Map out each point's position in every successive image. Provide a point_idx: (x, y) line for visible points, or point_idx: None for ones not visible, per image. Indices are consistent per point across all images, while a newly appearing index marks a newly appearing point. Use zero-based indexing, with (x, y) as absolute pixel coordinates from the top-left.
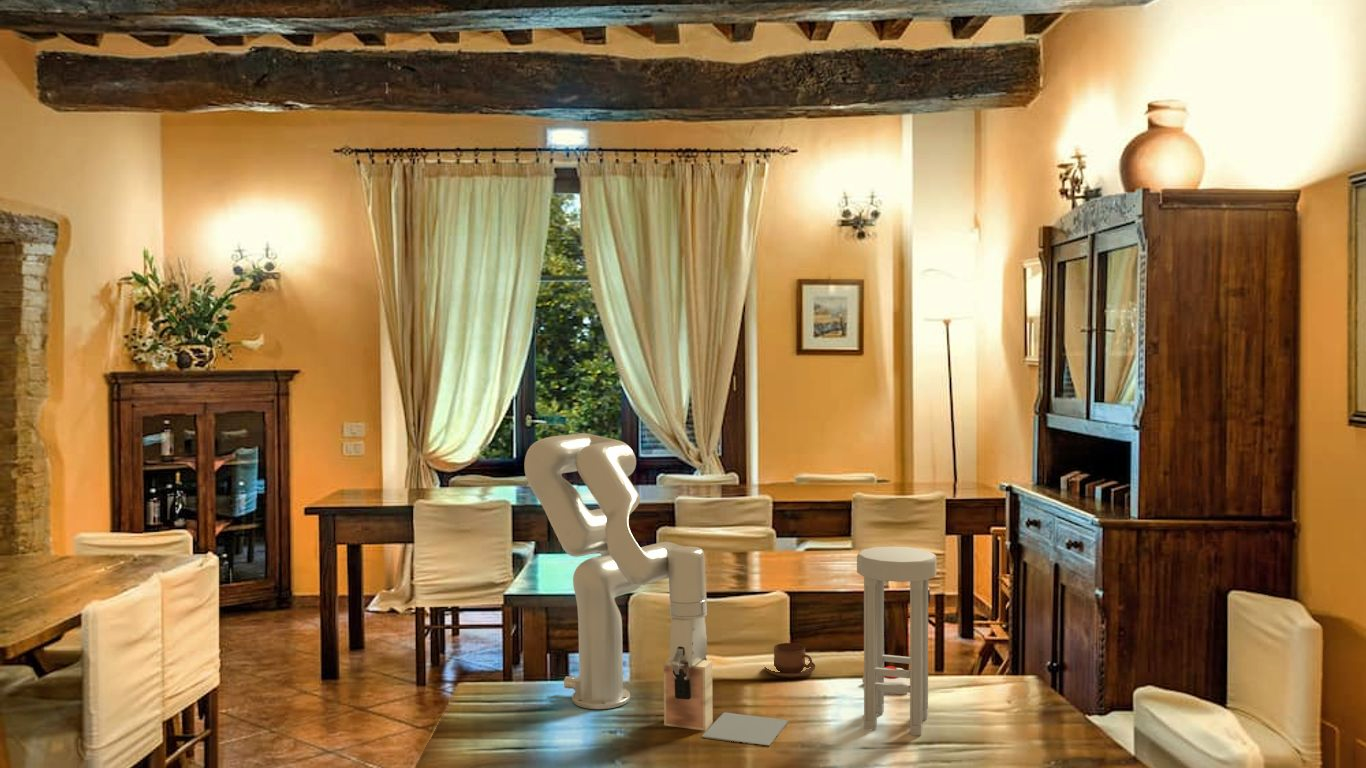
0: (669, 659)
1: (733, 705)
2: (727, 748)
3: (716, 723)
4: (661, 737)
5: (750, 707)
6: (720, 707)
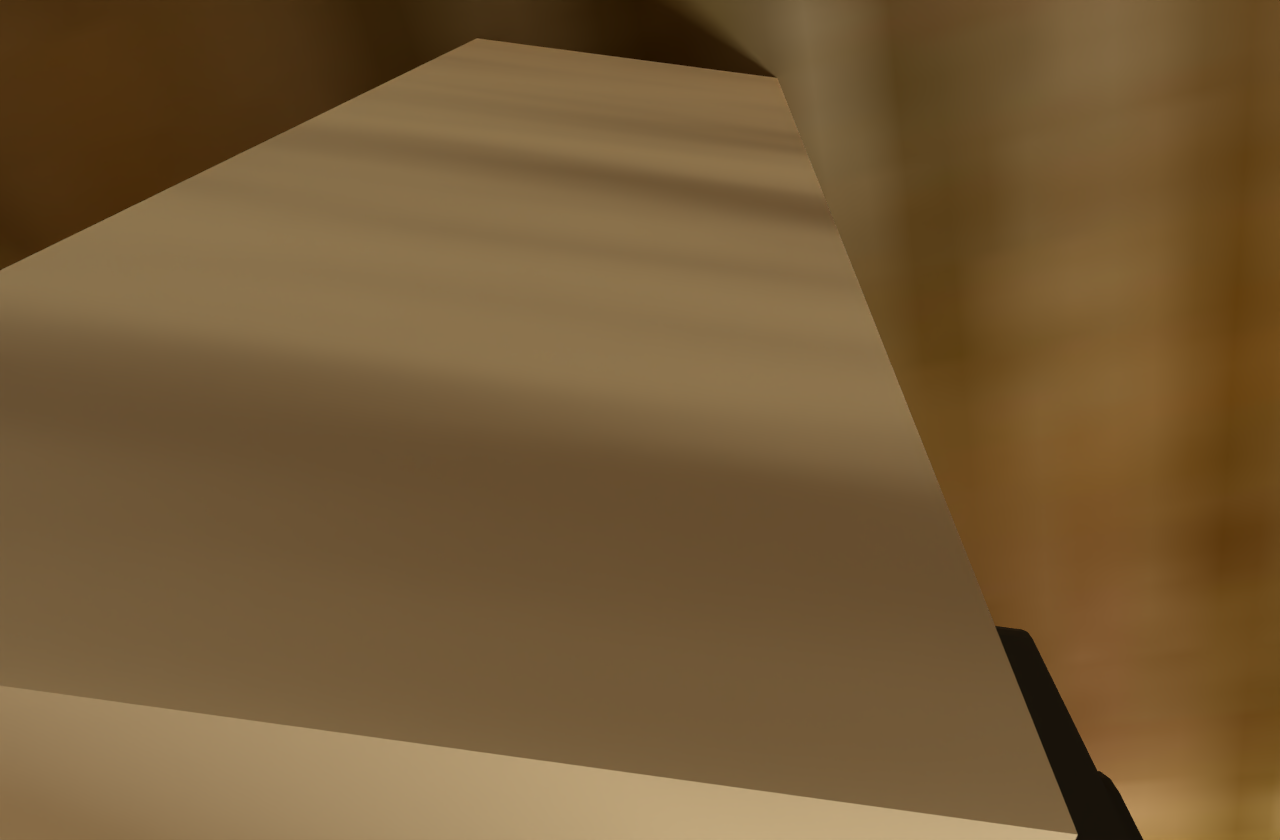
0: (312, 820)
1: (1267, 689)
2: None
3: None
4: (70, 118)
5: (1193, 825)
6: (1205, 581)
